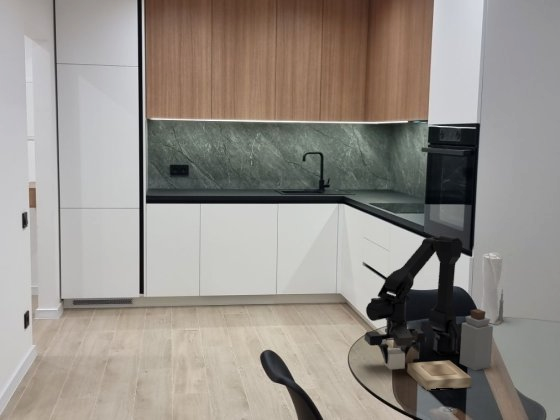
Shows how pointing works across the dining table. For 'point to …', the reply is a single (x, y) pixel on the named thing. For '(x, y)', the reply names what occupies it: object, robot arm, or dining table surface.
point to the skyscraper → (492, 288)
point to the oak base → (438, 375)
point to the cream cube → (395, 359)
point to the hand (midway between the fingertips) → (394, 362)
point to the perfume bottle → (476, 341)
